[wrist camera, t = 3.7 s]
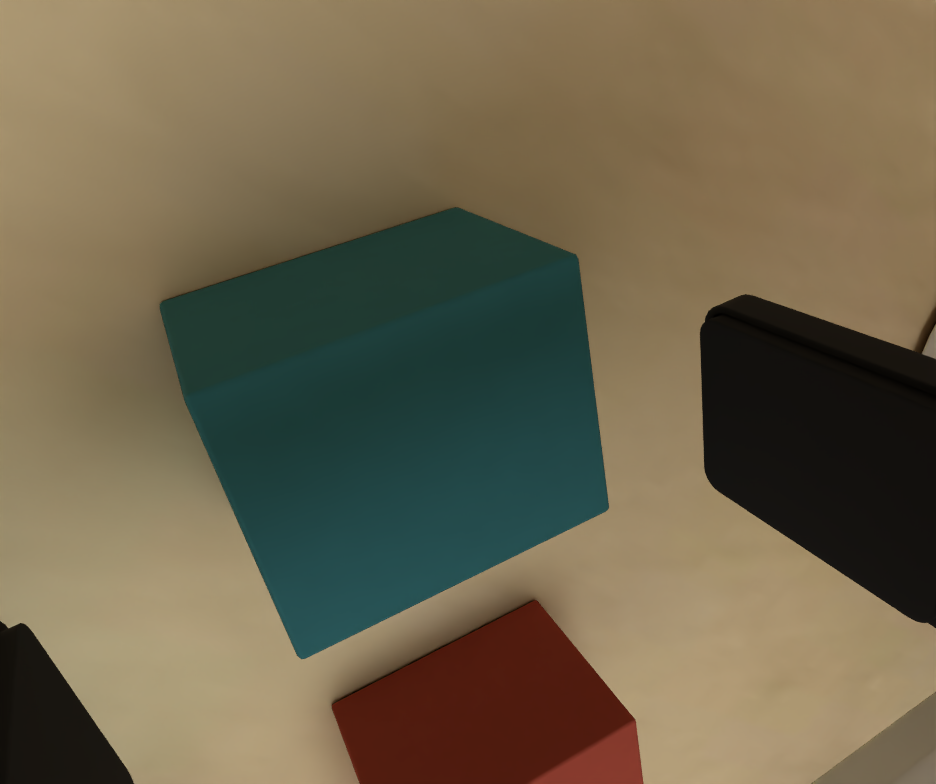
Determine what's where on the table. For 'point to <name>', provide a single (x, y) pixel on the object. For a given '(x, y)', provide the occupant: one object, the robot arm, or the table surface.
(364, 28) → the table surface
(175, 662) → the table surface
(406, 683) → the brick pad
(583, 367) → the teal pad
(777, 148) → the table surface
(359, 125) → the table surface
